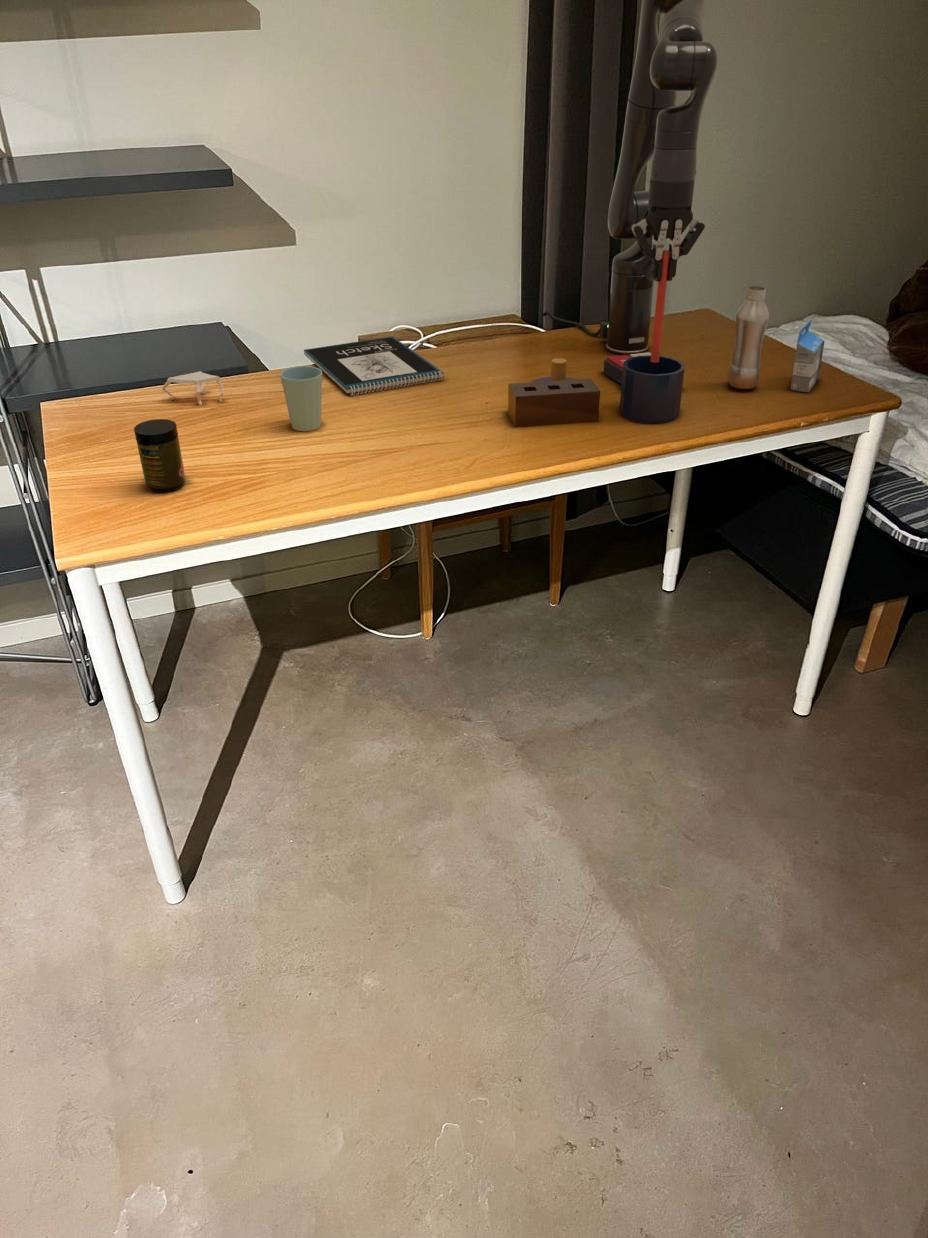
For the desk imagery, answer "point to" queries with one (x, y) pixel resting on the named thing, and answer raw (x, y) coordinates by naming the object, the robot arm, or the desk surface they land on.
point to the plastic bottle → (749, 339)
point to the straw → (660, 308)
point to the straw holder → (553, 402)
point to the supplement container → (160, 455)
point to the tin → (651, 389)
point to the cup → (303, 396)
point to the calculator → (617, 365)
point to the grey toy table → (195, 379)
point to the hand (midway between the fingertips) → (662, 279)
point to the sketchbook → (372, 365)
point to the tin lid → (556, 371)
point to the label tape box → (807, 360)
